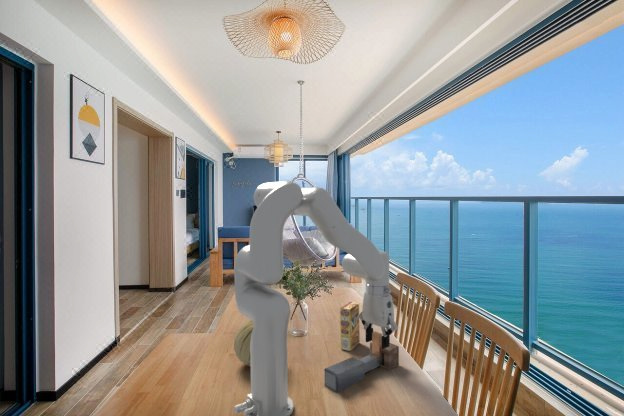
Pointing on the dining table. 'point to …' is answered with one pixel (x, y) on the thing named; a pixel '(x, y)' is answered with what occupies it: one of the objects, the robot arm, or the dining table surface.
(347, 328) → the candy box
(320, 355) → the dining table surface
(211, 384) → the dining table surface
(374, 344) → the sliding latch bolt
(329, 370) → the dark grey rectangular box
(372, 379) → the dining table surface
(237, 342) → the cantaloupe
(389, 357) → the socket
